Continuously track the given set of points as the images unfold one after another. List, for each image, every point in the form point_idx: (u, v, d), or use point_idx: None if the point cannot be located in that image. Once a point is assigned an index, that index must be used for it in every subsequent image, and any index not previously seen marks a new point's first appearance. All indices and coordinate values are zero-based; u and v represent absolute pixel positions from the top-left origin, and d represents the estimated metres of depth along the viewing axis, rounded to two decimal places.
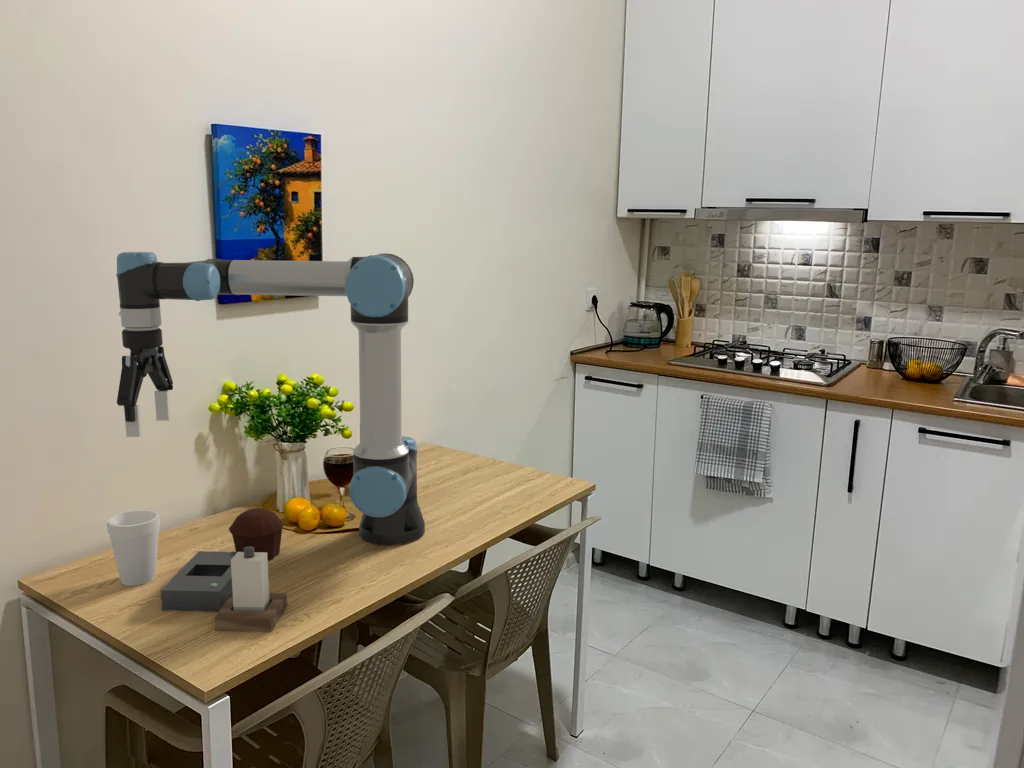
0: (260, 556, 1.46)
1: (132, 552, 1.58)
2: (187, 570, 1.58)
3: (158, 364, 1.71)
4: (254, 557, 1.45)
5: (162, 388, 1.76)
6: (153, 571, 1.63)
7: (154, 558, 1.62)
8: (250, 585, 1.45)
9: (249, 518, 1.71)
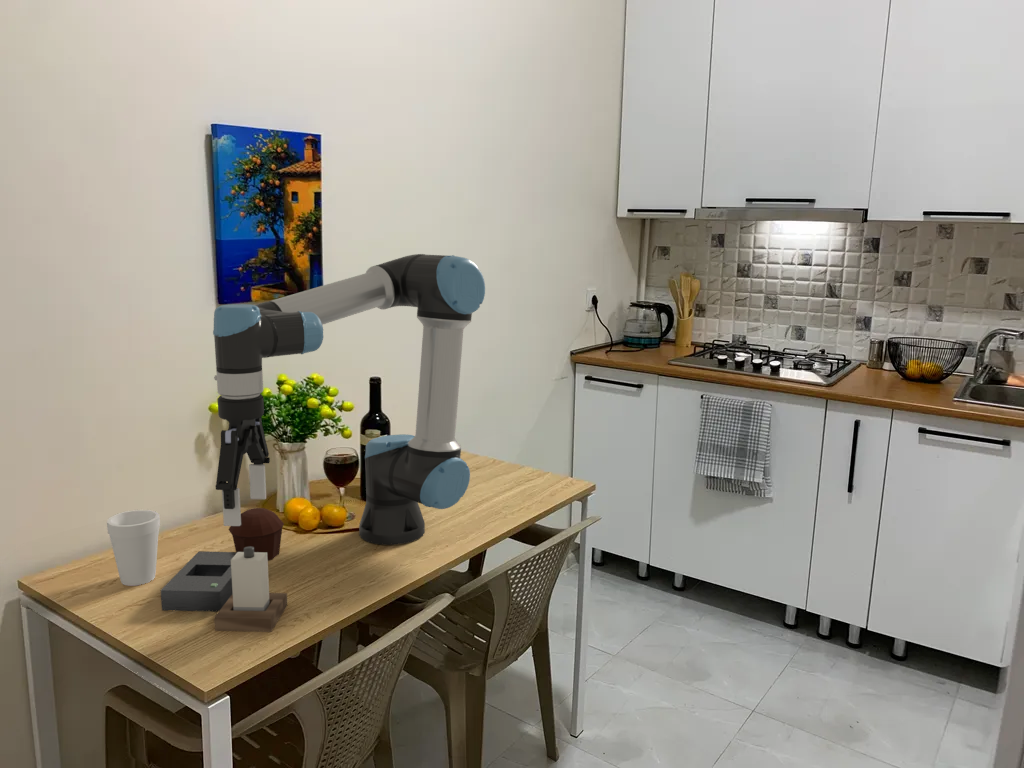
0: (260, 556, 1.46)
1: (132, 552, 1.58)
2: (187, 570, 1.58)
3: (257, 435, 1.44)
4: (254, 557, 1.45)
5: (258, 461, 1.50)
6: (153, 571, 1.63)
7: (154, 558, 1.62)
8: (250, 585, 1.45)
9: (249, 518, 1.71)
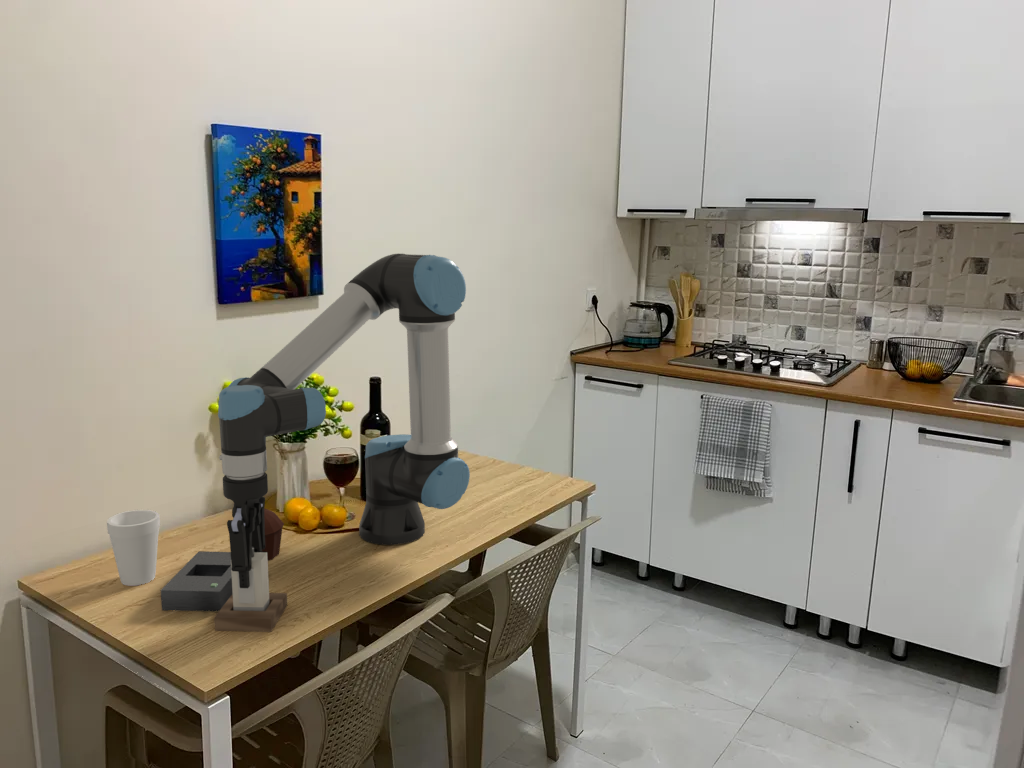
0: (260, 556, 1.46)
1: (132, 552, 1.58)
2: (187, 570, 1.58)
3: (259, 516, 1.46)
4: (254, 557, 1.45)
5: None
6: (153, 571, 1.63)
7: (154, 558, 1.62)
8: None
9: None
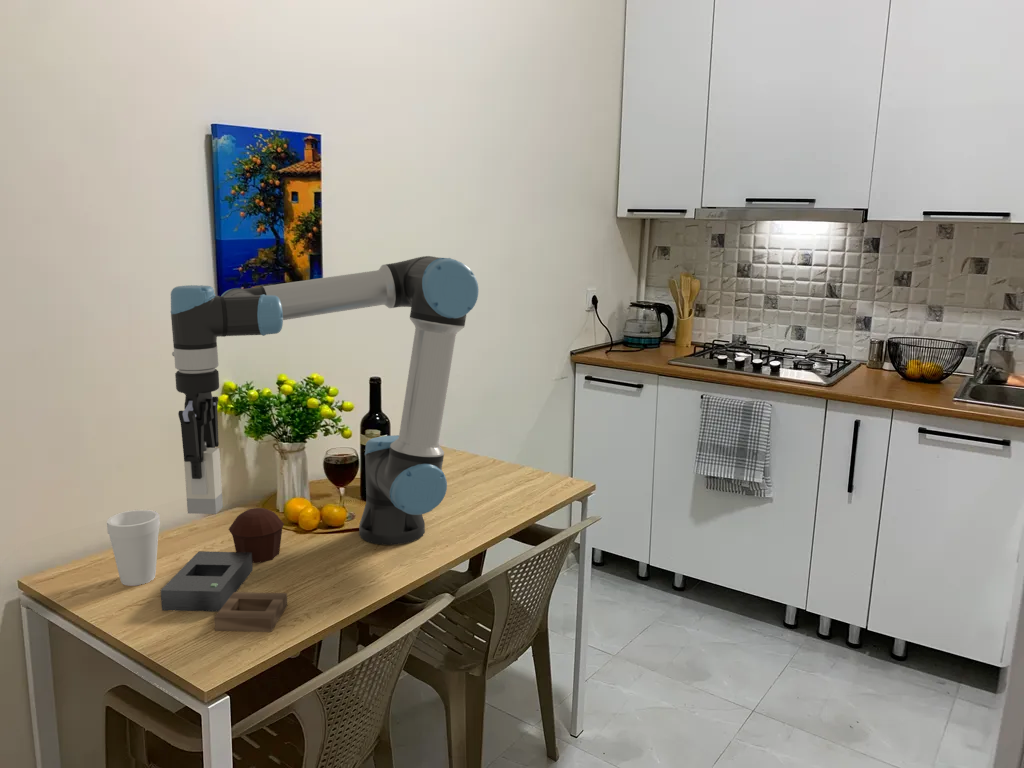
0: (212, 450, 1.53)
1: (132, 552, 1.58)
2: (187, 570, 1.58)
3: (212, 412, 1.54)
4: (206, 451, 1.53)
5: None
6: (153, 571, 1.63)
7: (154, 558, 1.62)
8: None
9: (249, 518, 1.71)
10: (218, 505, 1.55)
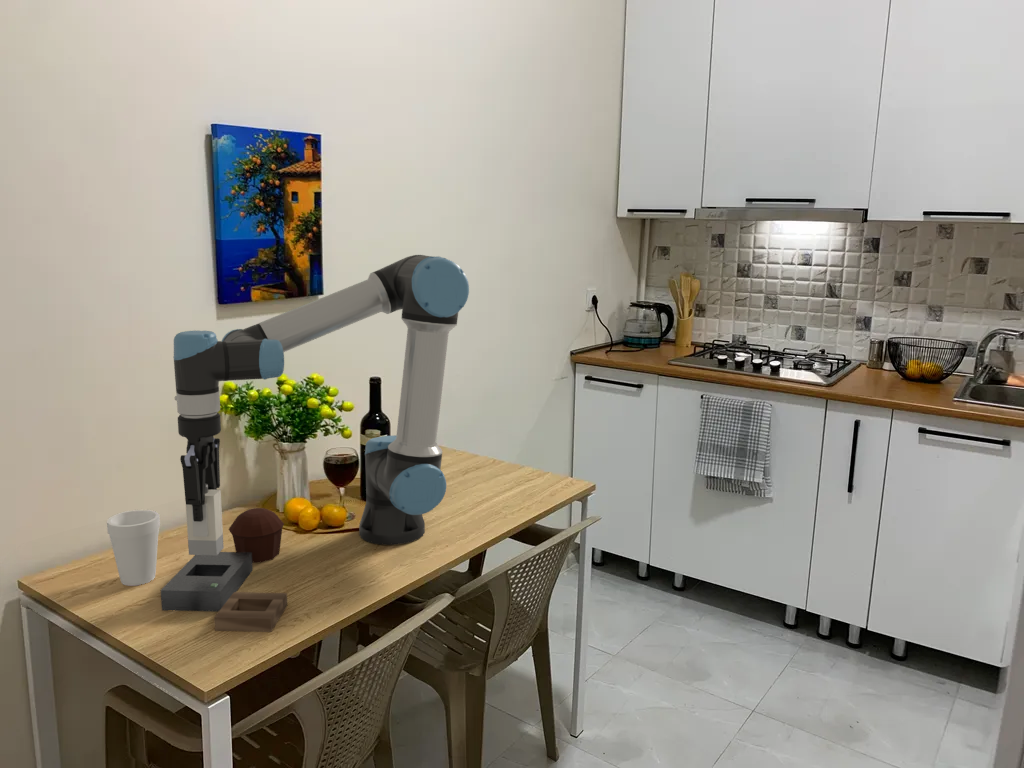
0: (213, 492, 1.55)
1: (132, 552, 1.58)
2: (187, 570, 1.58)
3: (213, 455, 1.55)
4: (207, 493, 1.55)
5: None
6: (153, 571, 1.63)
7: (154, 558, 1.62)
8: None
9: (249, 518, 1.71)
10: (219, 546, 1.57)
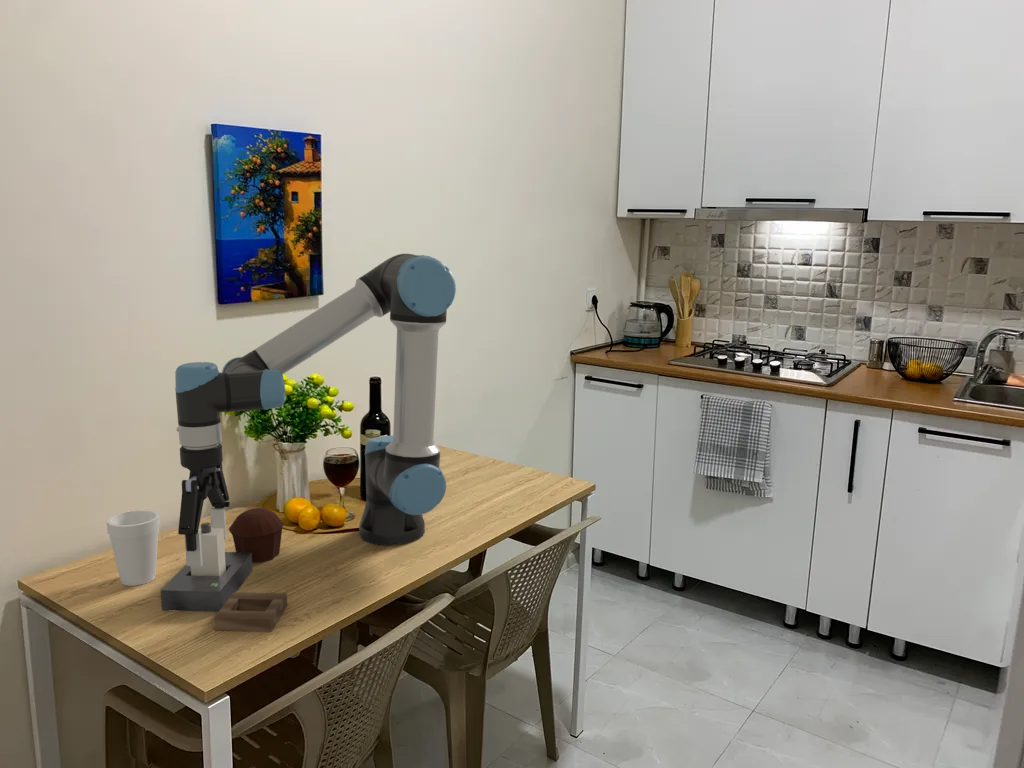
0: (216, 531, 1.57)
1: (132, 552, 1.58)
2: (187, 570, 1.58)
3: (217, 481, 1.57)
4: (211, 532, 1.56)
5: (218, 505, 1.63)
6: (153, 571, 1.63)
7: (154, 558, 1.62)
8: (207, 559, 1.56)
9: (249, 518, 1.71)
10: None
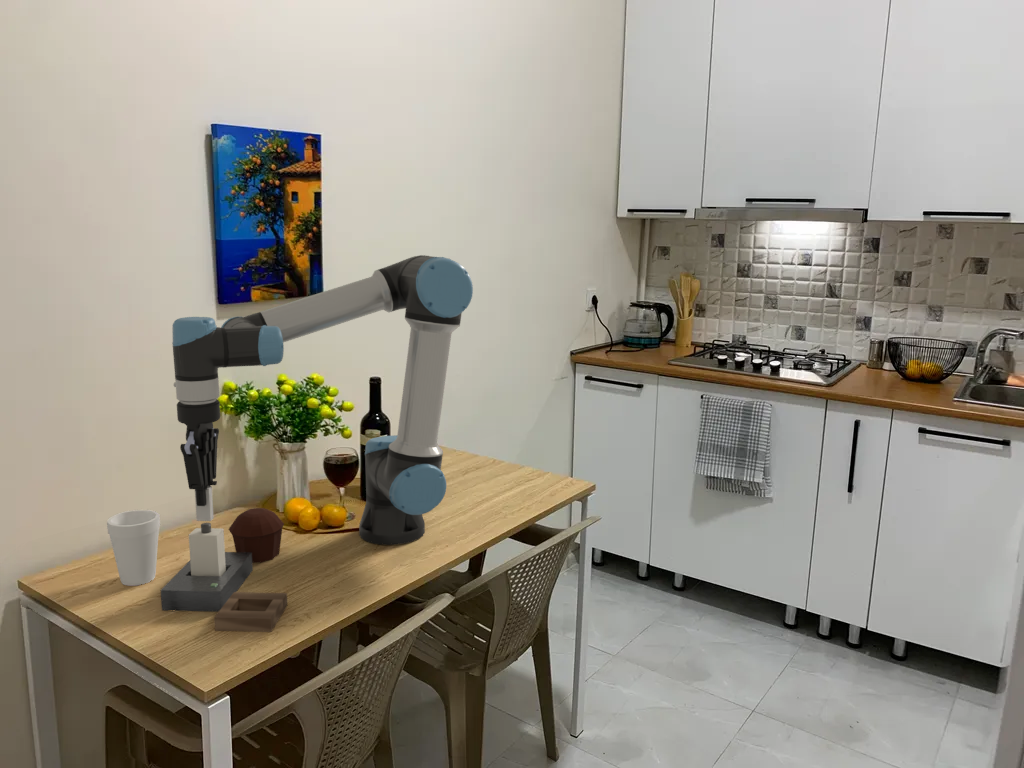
0: (216, 531, 1.57)
1: (132, 552, 1.58)
2: (187, 570, 1.58)
3: (212, 442, 1.55)
4: (211, 532, 1.56)
5: None
6: (153, 571, 1.63)
7: (154, 558, 1.62)
8: (207, 559, 1.56)
9: (249, 518, 1.71)
10: None
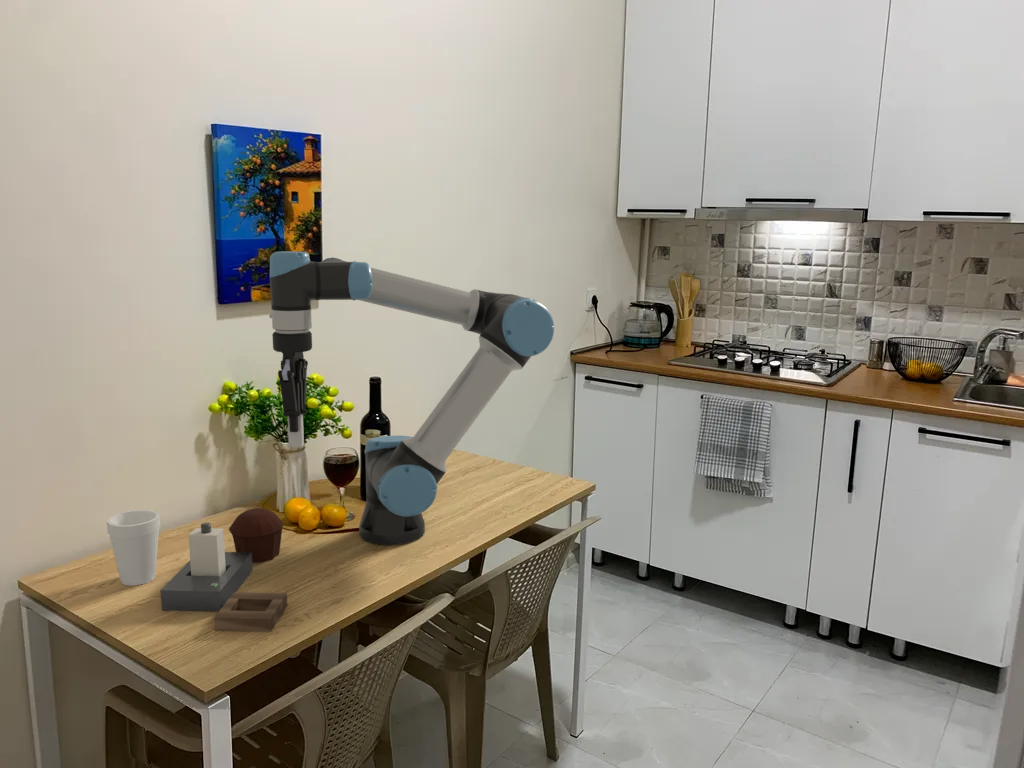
0: (216, 532, 1.57)
1: (132, 552, 1.58)
2: (187, 570, 1.58)
3: (303, 372, 1.63)
4: (210, 532, 1.56)
5: None
6: (153, 571, 1.63)
7: (154, 558, 1.62)
8: (207, 559, 1.56)
9: (249, 518, 1.71)
10: None
